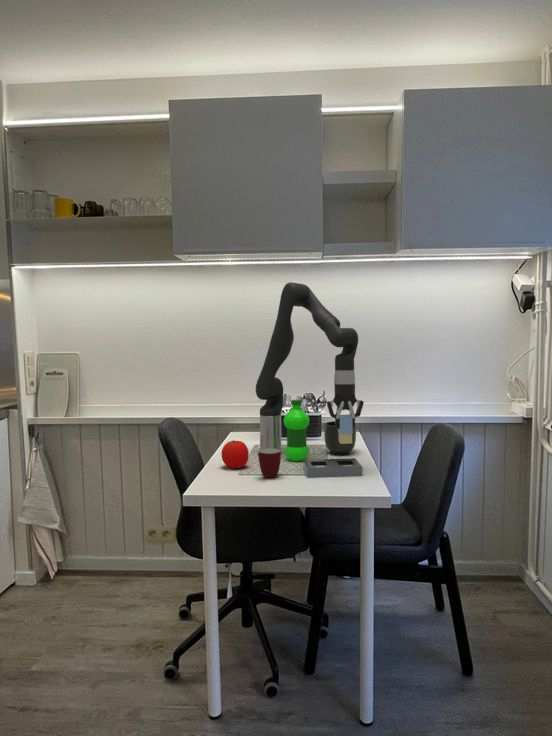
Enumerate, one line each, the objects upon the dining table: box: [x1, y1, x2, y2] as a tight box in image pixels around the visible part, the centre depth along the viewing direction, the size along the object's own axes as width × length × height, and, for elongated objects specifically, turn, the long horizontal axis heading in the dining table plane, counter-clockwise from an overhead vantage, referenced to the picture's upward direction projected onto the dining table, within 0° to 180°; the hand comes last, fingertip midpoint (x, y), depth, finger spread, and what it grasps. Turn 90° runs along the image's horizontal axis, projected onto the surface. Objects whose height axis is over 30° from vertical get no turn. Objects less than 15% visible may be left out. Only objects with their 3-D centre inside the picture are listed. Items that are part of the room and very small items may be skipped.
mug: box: [258, 448, 282, 480], centre depth 181 cm, size 10×8×10 cm
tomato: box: [220, 439, 249, 469], centre depth 195 cm, size 10×11×11 cm
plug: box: [338, 413, 353, 444], centre depth 184 cm, size 4×4×10 cm
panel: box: [302, 457, 363, 479], centre depth 185 cm, size 20×12×4 cm, turn 94°
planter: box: [323, 420, 357, 456], centre depth 216 cm, size 14×14×13 cm
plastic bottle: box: [283, 399, 310, 462], centre depth 203 cm, size 10×10×25 cm
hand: (345, 428), depth 184 cm, fingers closed on plug, 4 cm apart
